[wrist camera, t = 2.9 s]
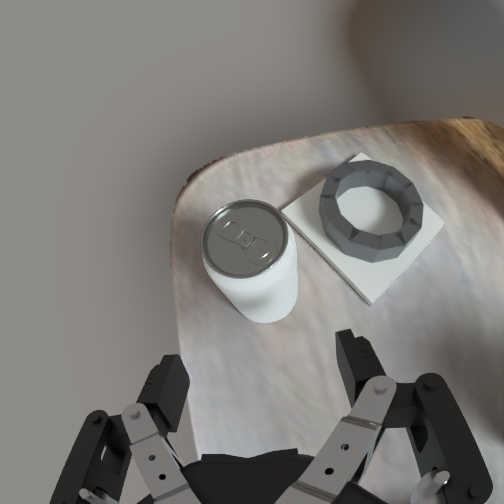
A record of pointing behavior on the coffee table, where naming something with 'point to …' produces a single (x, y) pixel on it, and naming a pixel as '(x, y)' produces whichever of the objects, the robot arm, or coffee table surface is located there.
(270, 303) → the can
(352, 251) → the collar
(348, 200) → the socket plate
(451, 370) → the coffee table surface
